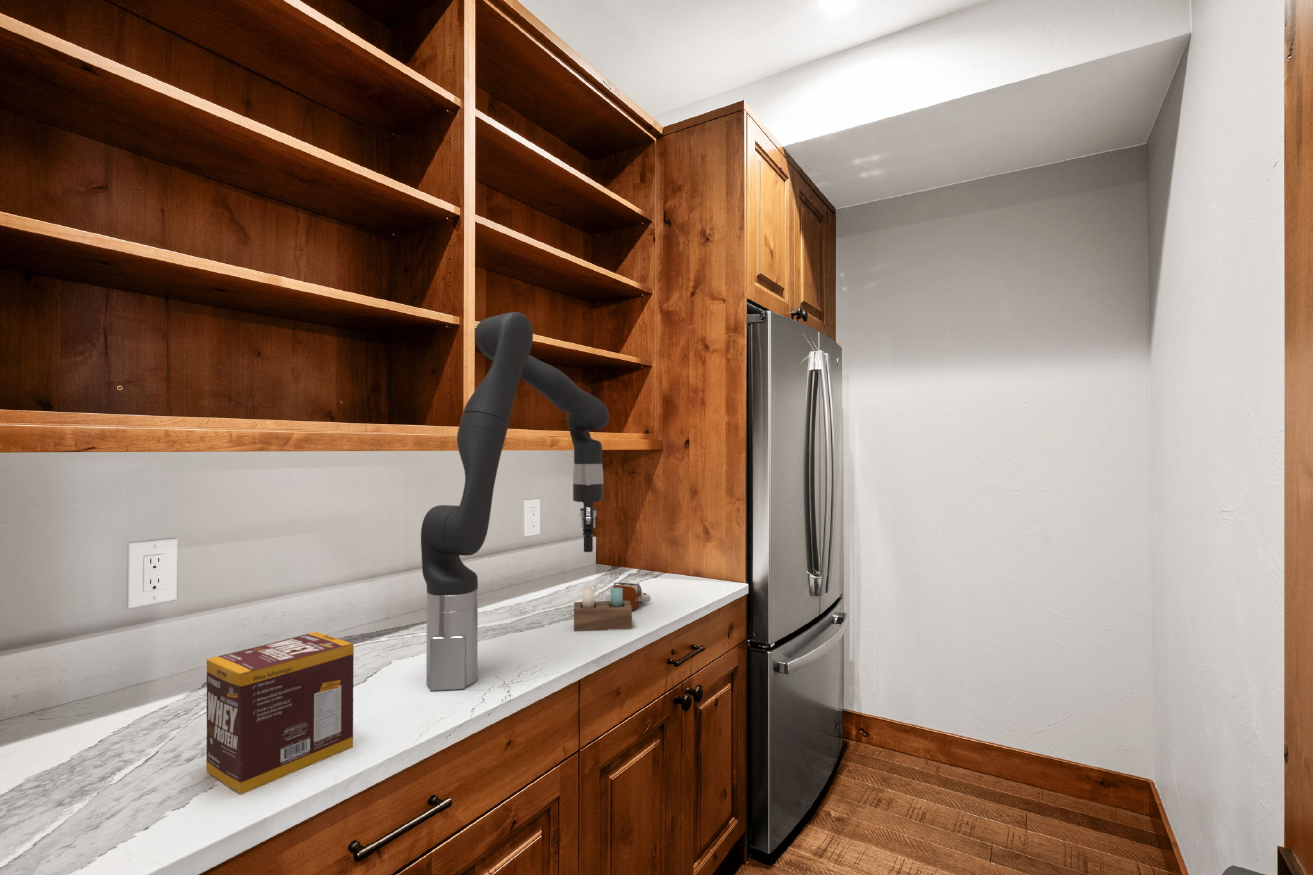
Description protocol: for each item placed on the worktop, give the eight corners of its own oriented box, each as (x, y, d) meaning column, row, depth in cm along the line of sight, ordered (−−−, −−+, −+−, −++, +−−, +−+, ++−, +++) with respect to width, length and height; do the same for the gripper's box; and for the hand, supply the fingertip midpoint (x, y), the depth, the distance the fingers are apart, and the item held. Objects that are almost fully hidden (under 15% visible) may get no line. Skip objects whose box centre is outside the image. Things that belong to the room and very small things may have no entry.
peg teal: (622, 610, 152) (622, 589, 152) (610, 610, 152) (610, 590, 152) (622, 607, 155) (622, 587, 155) (610, 607, 155) (610, 587, 155)
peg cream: (594, 611, 151) (594, 590, 151) (582, 611, 151) (582, 591, 151) (594, 608, 154) (594, 588, 154) (582, 608, 154) (582, 588, 154)
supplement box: (203, 772, 84) (204, 658, 84) (317, 729, 97) (318, 630, 97) (238, 796, 78) (239, 673, 78) (354, 747, 91) (355, 641, 91)
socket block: (631, 629, 150) (631, 608, 150) (573, 631, 148) (573, 610, 148) (629, 619, 158) (629, 600, 158) (574, 621, 156) (574, 602, 156)
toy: (657, 582, 178) (637, 585, 164) (655, 607, 177) (636, 611, 163) (627, 580, 181) (606, 582, 168) (626, 604, 180) (604, 608, 166)
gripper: (573, 480, 159) (573, 547, 159) (572, 483, 146) (572, 556, 146) (602, 480, 160) (602, 547, 160) (604, 483, 147) (604, 556, 147)
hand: (588, 551), depth 153 cm, fingers closed
